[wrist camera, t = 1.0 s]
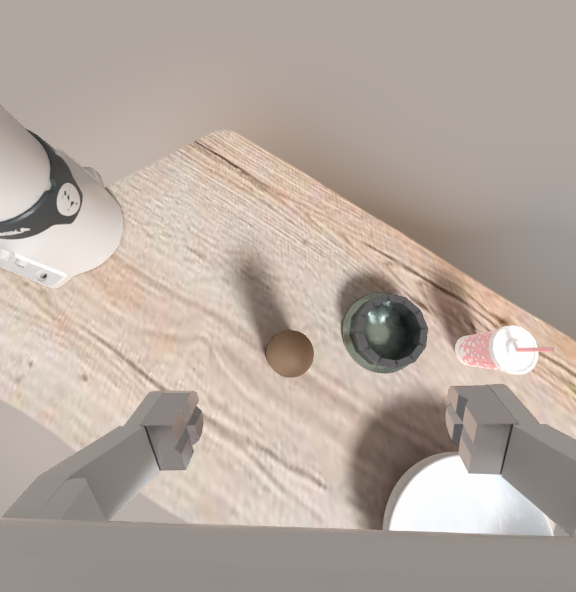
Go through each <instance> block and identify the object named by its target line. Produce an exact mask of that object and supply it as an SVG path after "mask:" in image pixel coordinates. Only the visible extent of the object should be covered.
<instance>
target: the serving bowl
mask: <svg viewBox="0 0 576 592" xmlns="http://www.w3.org/2000/svg"><path fill="white" fill-rule="evenodd" d="M383 530H394V531H424V532H455V533H485V534H514V535H544V536H554V535H553V531H552V527H551V524H550V522H549V519H548V516H547V515H545V514H544V513H543V512H542V511H541V510H540V509H539V508H537V507H536V506H535V505H534V504H533V503H532V502H530V501H529V500H528V499H527V498H526V497H525V496H523V495H522V494H521V493H520V492H519V491H518V490H516V489H515V488H514V487H513V486H512V485H511V484H509V483H508V482H507V481H506V480H505V479H504V478H502V477H501V475H494V474H469V473H468V472H467V470H466V468H465V466H464V464H463V462H462V460H461V458H460V456H459V454H458V452H444V453H439V454H435V455H432V456H429V457H427V458H425V459H423V460H421V461H419V462H417V463H416V464H415V465H413V466H412V467H411V468H409V469H408V470H407V471H406V472H405V473H404V474H403V476H402V477H401V478H400V479H399V481H398V482H397V484H396V485H395V487H394V489H393V491H392V493H391V495H390V497H389V500H388V503H387V506H386V509H385V514H384V519H383Z"/></svg>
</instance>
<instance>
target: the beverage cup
mask: <svg viewBox="0 0 576 592" xmlns="http://www.w3.org/2000/svg"><path fill="white" fill-rule="evenodd" d="M540 351H554V348H553V347H537V344H536V341H535V339H534V338H533V337H532V335H531V334H530V333H529V332H528V331H526V330H525V329H523V328H522V327H518V326H513V325H512V326H506V327H501V328H499V329H497V330H495V331H489V332H484V333H478V334H473V335H468V336H462V337H461V338H460V339H458V341H457V342H456V344H455V353H456V356H457V358H458V359H459V361H460V362H462V363H463V364H465V365H469V366H475V367H481V368H488V369H495V370H501V371H504V372H506V373H510V374H516V375H521V374H525V373H528V372H529V371H531V370H532V369H533V368H534V367H535V365H536V363H537V361H538V352H540Z"/></svg>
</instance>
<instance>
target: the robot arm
mask: <svg viewBox="0 0 576 592" xmlns="http://www.w3.org/2000/svg"><path fill="white" fill-rule="evenodd" d="M123 229H124V219H123V214H122V211H121V208H120V206H119V204H118V203H117V201H116V200H115V199H114V197H113V196H112V195H111V194H110V193H109V192H108V191H107V190H106V189H105V187H104V186H103V182H102V179H101V177H100V175H99V174H98V172H96V171H95V170H94V169H92V168H89V167H82V166H81V165H79V164H78V163H77V162H76V161H74V159H72V158H71V157H70V156H69V155H67V154H66V153H65V152H64V151H62V150H60V149H56V150H55V149H53V148H52V147H51V146H50V145H49V144H48V143H47V142H46V141H43V140H42V139H41V138H40V137H39V136H37V135H36V134H34V133H33V132H31V131H29V130H27V129H25V128H24V127H23V126H22V125H21V124H20V123H19V122H18V121H17V120H16V119H15V118H14V117H13V116H12V115H10V114H9V113H8V112H7V111H6V110H5V109H4V108H3V107H2V106H1V105H0V268H3V269H5V270H8V271H10V272H12V273H15V274H17V275H20V276H22V277H24V278H27V279H29V280H32V281H34V282H36V283H39V284H41V285H44V286H46V287H48V288H52V289H56V288H59V287H61V286H62V285H64V284H65V283H66V282H67V281H69V280H70V279H71V278H72V277H73V276H75V275H78V274H80V273H83V272H86V271H89V270H91V269H93V268H95V267H97V266H99V265H100V264H102V263H103V262H104V261H106V260H107V259H108V258H109V257H110V256H111V255H112V254H113V252H114V251H115V250H116V248H117V247H118V245H119V243H120V241H121V238H122V234H123ZM46 274H47V277H46V278H45V279H44V276H45V275H46ZM447 397H448V399H449V400H450V402H451V404H450V405H449V406H448V407H447V408H446V414H445V419H446V426H447V430H448V433H449V435H450V437H451V439H452V441H454V442H455V443H456V444H458V445H459V451H458V454H459V456H460V458H461V460H462V462H463V464H464V466H465V468H466V470H467V472H468V473H469V474H494V475H501V477H502V478H504V479H505V480H506V481H507V482H508V483H509V484H511V485H512V486H513V487H514V488H515V489H516V490H518V491H519V492H520V493H521V494H522V495H523V496H525V497H526V498H527V499H528V500H529V501H530V502H532V503H533V504H534V505H535V506H536V507H537V508H539V509H540V510H541V511H542V512H543V513H544V514H545V515H547V516H548V517H549V518H550V519H551V520H552V521H554V522H555V523H556V524H557V525H558V526H560V527H561V528H562V529H563V530H564V531H565V532H566V533H568V534H569V535H570V536H544V535H514V534H485V533H455V532H424V531H394V530H363V529H333V528H304V527H274V526H244V525H214V524H184V523H154V522H153V523H152V522H122V521H110V519H112V518H113V517H114V516H115V515H116V514H117V513H118V512H119V511H120V510H121V509H122V508H123V507H124V506H125V505H126V504H127V503H128V502H129V501H130V500H131V499H132V498H134V496H135V495H137V494H138V493H139V492H140V491H141V490H142V489H143V488H144V487H145V486H146V485H147V484H148V483H149V482H150V481H151V480H152V479H153V478H154V477H155V476H156V475H157V474H158V473H159V472H160V470H186V469H187V466H188V464H189V462H190V459H191V457H192V455H193V453H194V450H193V447H192V445H194V444H195V443H196V442H197V441H198V440H199V439H200V436H201V434H202V429H203V414H202V411H201V410H200V409H199V408H198V407H197V406H196V405H197V403H198V401H199V399H198V395H197V392H195V391H151V392H149V393H148V394H147V396H146V397H145V398H144V400H143V401H142V402H141V404H140V405H139V407H138V408H137V409H136V411H135V412H134V413H133V415H132V416H131V417H130V419H129V420H128V421H127V423H126V424H125V425H124V426H119V427H117V428H116V429H114V430H113V431H111V432H109V433H108V434H106V435H104V436H103V437H101V438H100V439H98V440H96V441H95V442H93V443H91V444H90V445H88V446H87V447H85V448H83V449H82V450H80V451H79V452H77V453H75V454H74V455H72V456H70V457H69V458H67V459H66V460H64V461H62V462H61V463H59V464H57V465H56V466H54V467H53V468H51V469H49V470H48V471H46V472H44V473H43V474H41V475H40V476H38V477H37V478H36V480H35V481H34V482H33V483H32V484H31V485H30V486H29V487H28V489H26V491H25V492H24V493H23V494H22V495H21V496H20V497H19V498H18V499H17V500H16V502H15V503H14V504H13V505H12V506H11V507H10V508H9V510H7V512H6V513H5V514H4V515H3V516H2V517H0V592H576V440H575V439H573V438H571V437H570V436H568V435H566V434H564V433H562V432H560V431H558V430H556V429H554V428H552V427H551V426H549V425H547V424H540V423H539V422H538V421H537V420H536V419H535V417H534V416H533V415H532V414H531V413H530V412H529V410H528V409H527V408H526V407H525V406H524V405H523V404H522V402H521V401H520V400H519V399H518V398H517V397H516V396H515V394H514V393H513V392H512V391H511V390H510V389H509V388H508V386H506V385H504V384H493V385H475V386H450V388H449V390H448V396H447Z"/></svg>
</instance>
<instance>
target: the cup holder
mask: <svg viewBox="0 0 576 592" xmlns="http://www.w3.org/2000/svg"><path fill="white" fill-rule="evenodd" d="M427 332H428V327H427V325H426V322H425V320H424V317H423V315H422V312H421V310H420V309H419V308H418V307H416V306H415V305H414V304H413V303H412V302H411V301H409V300H408V299H407V298H406V297H401V296H396V295H392V294H388V293H372V294H369V295H366V296H364V297H362V298H360V299H358V300H357V301H356V302H355V303H354V304H353V305H352V306H351V307H350V308H349V310H348V311H347V313H346V315H345V318H344V321H343V328H342V335H343V341H344V344H345V347H346V349H347V351H348V353H349V354H350V356H351V357H352V358H353V359H354V360H355V361H356V362H357V363H358V364H359V365H360V366H362V367H363V368H365V369H367V370H370V371H373V372H377V373H392V372H396V371H399V370H401V369H403V368H404V367H406V366H407V365H408V364H411V363H413V362H415V361H416V360H417V358H418V357H419V356H420V354H421V353H422V352H423V350H424V349H425V348H426V342H427Z"/></svg>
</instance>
